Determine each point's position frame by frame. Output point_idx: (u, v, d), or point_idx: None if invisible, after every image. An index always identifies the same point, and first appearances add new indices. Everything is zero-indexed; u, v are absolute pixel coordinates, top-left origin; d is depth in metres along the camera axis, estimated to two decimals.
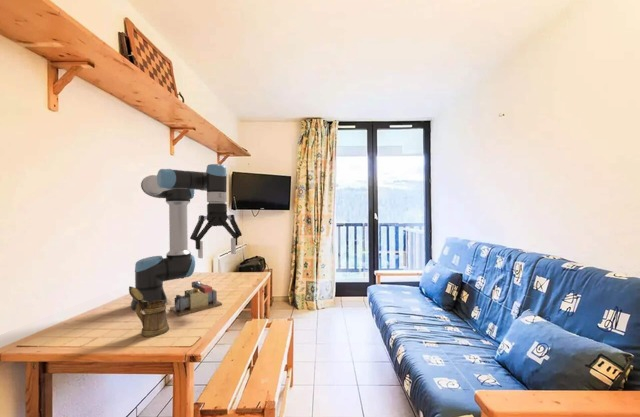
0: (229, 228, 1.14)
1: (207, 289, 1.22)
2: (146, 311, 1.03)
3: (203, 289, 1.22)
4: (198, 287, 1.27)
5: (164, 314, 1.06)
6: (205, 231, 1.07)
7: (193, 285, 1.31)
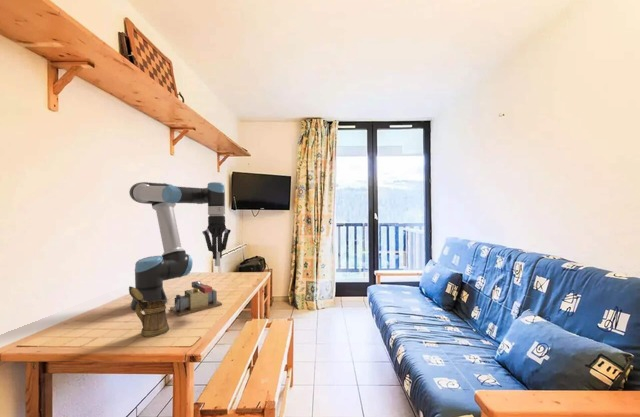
0: (220, 240, 1.30)
1: (207, 289, 1.22)
2: (146, 311, 1.03)
3: (203, 289, 1.22)
4: (198, 287, 1.27)
5: (164, 314, 1.06)
6: (215, 242, 1.28)
7: (193, 285, 1.31)
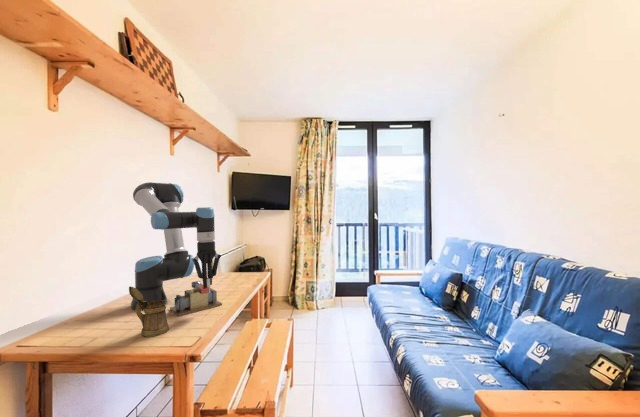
0: (210, 266, 1.26)
1: (204, 290, 1.21)
2: (146, 311, 1.03)
3: (200, 289, 1.21)
4: (197, 287, 1.27)
5: (164, 314, 1.06)
6: (205, 269, 1.24)
7: (193, 285, 1.31)
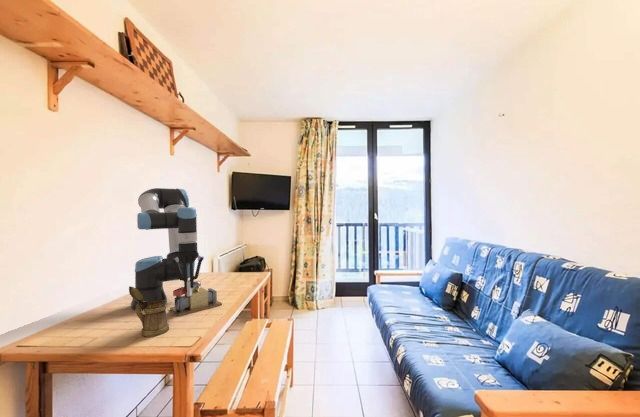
0: (191, 268, 1.22)
1: (175, 292, 1.18)
2: (146, 311, 1.03)
3: None
4: None
5: (164, 314, 1.06)
6: (185, 271, 1.21)
7: None
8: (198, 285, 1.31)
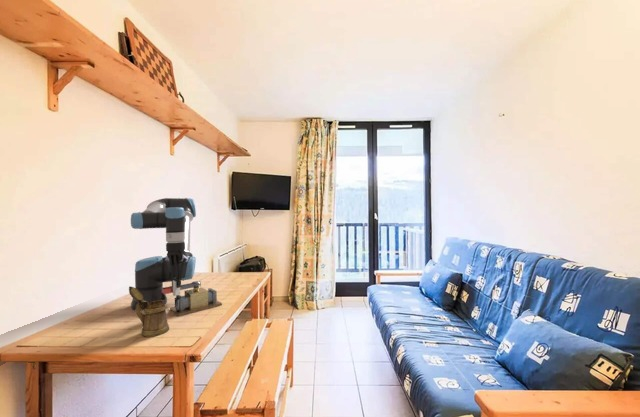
0: (176, 268, 1.22)
1: (162, 289, 1.22)
2: (146, 311, 1.03)
3: None
4: None
5: (164, 314, 1.06)
6: (171, 270, 1.23)
7: None
8: (195, 285, 1.31)
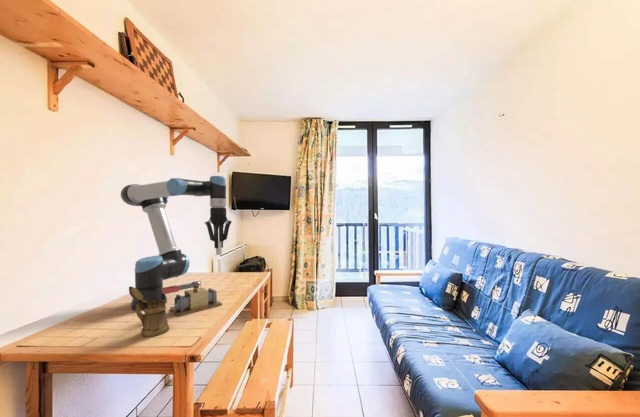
0: (221, 230, 1.38)
1: (162, 289, 1.22)
2: (146, 311, 1.03)
3: None
4: None
5: (164, 314, 1.06)
6: (217, 232, 1.36)
7: None
8: (195, 285, 1.31)
